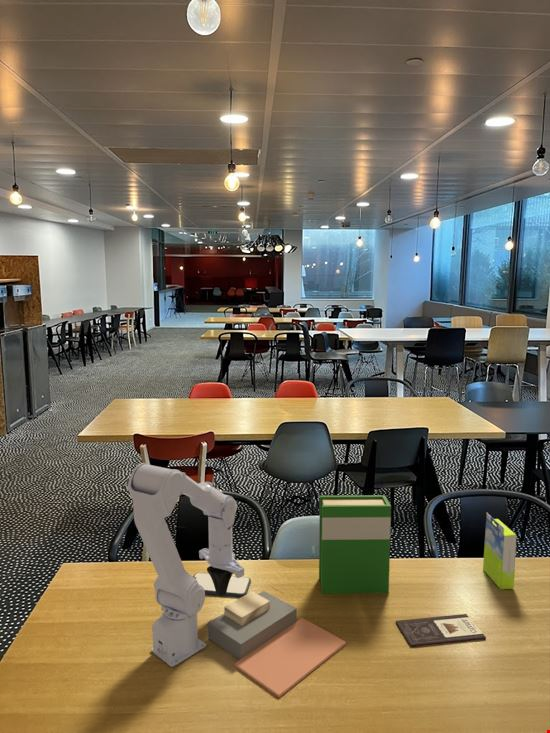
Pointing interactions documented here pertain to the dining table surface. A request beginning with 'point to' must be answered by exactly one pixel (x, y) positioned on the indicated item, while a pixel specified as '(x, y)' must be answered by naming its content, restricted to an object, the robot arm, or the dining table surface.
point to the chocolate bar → (439, 630)
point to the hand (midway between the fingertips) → (221, 594)
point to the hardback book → (354, 544)
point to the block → (252, 628)
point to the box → (499, 553)
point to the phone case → (235, 586)
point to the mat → (289, 656)
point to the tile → (247, 608)
